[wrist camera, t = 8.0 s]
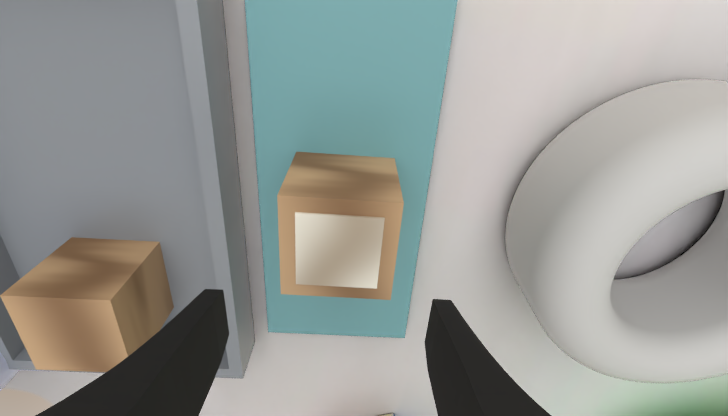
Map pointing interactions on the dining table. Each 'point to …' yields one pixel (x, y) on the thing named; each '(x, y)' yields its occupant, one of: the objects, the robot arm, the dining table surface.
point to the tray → (122, 147)
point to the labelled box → (339, 226)
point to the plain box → (90, 303)
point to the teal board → (346, 127)
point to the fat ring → (629, 234)
